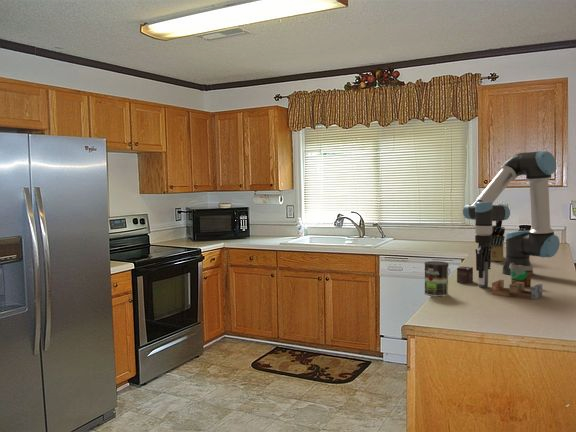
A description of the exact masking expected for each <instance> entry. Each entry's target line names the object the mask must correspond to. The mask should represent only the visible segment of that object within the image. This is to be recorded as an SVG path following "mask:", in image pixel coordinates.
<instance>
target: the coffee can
mask: <svg viewBox="0 0 576 432" xmlns="http://www.w3.org/2000/svg"><path fill="white" fill-rule="evenodd" d="M449 265H450V264H449V262H446V261H439V260H438V261H435V260H434V261H433V260H432V261H425V262H424V295H425V296H429V297H436V296H442V297H448V296H449Z"/></svg>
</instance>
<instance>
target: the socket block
mask: <svg viewBox="0 0 576 432" xmlns="http://www.w3.org/2000/svg"><path fill="white" fill-rule="evenodd" d="M504 283H505V280H504V279H498V280H496V281H493V282H492V283H491V294H492V295H494V296H495V295H497V296H504V297H512V298H519V299H527V300H528V299H529V300H537V299H539V298H540V297H542V296H543V283H537V284H535V285H533V286H530V287H531V288H530V289H531V290H528V289H527V290H526V289H525V287H524V282H515V283H513V284H512V283H511V284H509V287H505V285H504Z"/></svg>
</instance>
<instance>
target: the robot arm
mask: <svg viewBox="0 0 576 432" xmlns="http://www.w3.org/2000/svg"><path fill="white" fill-rule="evenodd" d="M556 170H557V161H556V158H555V156H554V155H553V153H551V152H549V151H543V150H542V151H541V150H539V151H530V152H528V151H526V152H519V153H516V154H514V155H512V156H511V157H509V158H508V159H507V160H506V161H504V162H503V164H502V165H501V166H500V167H499V168H498V172H497V173H496V175H495V176H494V177H493V178H492V180H491V181H490V182H489V183H488V185H487V186H486V187H484V189H483V190H482V192H480V194H479V195H478V196H477V198H476V199H475V200H474V201H473V202H472V203H468V204H466V205H464V206H463V208H462V215H463V217H464V218H465V219H467V220H473V221H474V220H475V224H474V226H475V227H474V230H475V236H474V242H475V243H476V244H478V245H477V246H478V247H477V248H476V249H475V259H476V260H475V267H476V268H475V269H476V271H478V272H477V273H478V277H477V278H478V281H477V283H478V284H477V285H479V284H480V285H485V271H484V262H485V261H486V262H488V270H491V269H492V268H491V247H489V243H492V235H491V234H492V226H493V222H496V221H502V222H504V221H506V220H508V219H509V218H510V216H511V211H510V210H511V209H510V208H509V207H508V206H507V205H504V204H498V205H497V204H493V203H494V202H495V201H496V200H497V199H498V197H499V196H500V195H501V194H502V192H503V191H504V190H505V189H506V188H507V186H509V184H510V183H511V182H513V181H515V180H516V179H517V178H518V177H519V176H525V179H526V180H527V181H528V183H529V196H530V217H531V219H530V220H531V221H530V222H531V228H530V230H517V231H516V230H515V231H508V232H507V233H506V236H505V260H504V263H503V266H502V268H501V269H502V273H503V274H505V275H509V276H511V270H510V268H509V265H510V263H514V265H523V266H532V263H531V260H530V257H531V256H532V257H539V258H543V259H544V258H552V257H554V256H555V255H556V254H557V253H558V251H559V249H560V245H561V244H560V238H559V236H558V235H556V234H555V231H554V229H552V227H551V215H550V189H549V181H550V180H551V178H552V175H553V174H554V173H555V172H556ZM533 274H534V269H533V270H532V274H531V276H532V275H533Z"/></svg>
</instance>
